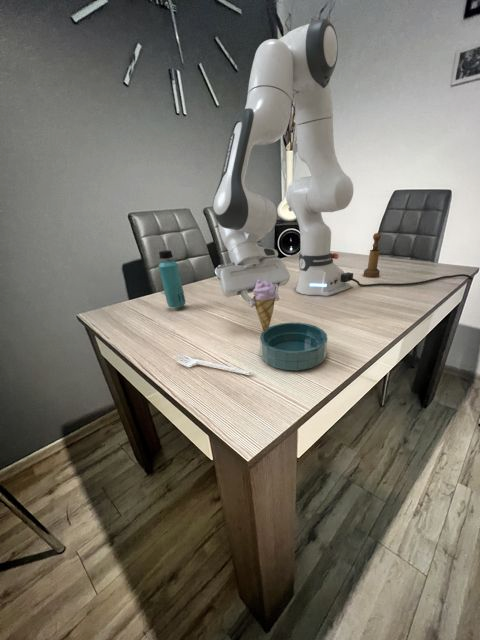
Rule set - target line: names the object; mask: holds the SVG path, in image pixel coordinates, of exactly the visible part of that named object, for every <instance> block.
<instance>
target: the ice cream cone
mask: <svg viewBox="0 0 480 640" xmlns="http://www.w3.org/2000/svg"><path fill="white" fill-rule="evenodd" d="M255 284H256V286H255V289H254V290H253V292H252V293H253V297H252V298H255V301H256V306H254V308H255V310H256V313H257V316H258V319H259V322H260V326H261V328H262V332H263V331H264V330H265V329H267V328H269V327H270V325H271V321H272V317H273V312H274V309H275V303H276V301H275V297H276V294H275V286H274V285H273V284H272V283H271V282H270V283H268V282H267V281H261V280H260V279H259V280H257V283H255Z"/></svg>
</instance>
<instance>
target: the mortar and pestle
mask: <svg viewBox="0 0 480 640" xmlns="http://www.w3.org/2000/svg"><path fill="white" fill-rule="evenodd" d="M381 237H382V235H381V233H380V232H375V233H374V234H373V235H372V238H373V241H374V242H373V244H372V249H370V250H369V257H368V263H367V268H366V269H364V270H363V277H364V278H369V279H374V278H375V279H376V278H379V277H380V272H381V271H380V270H379V268H378V264H379V258H380V251H381V250H380V249H378V247H379V241H380V239H381Z"/></svg>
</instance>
